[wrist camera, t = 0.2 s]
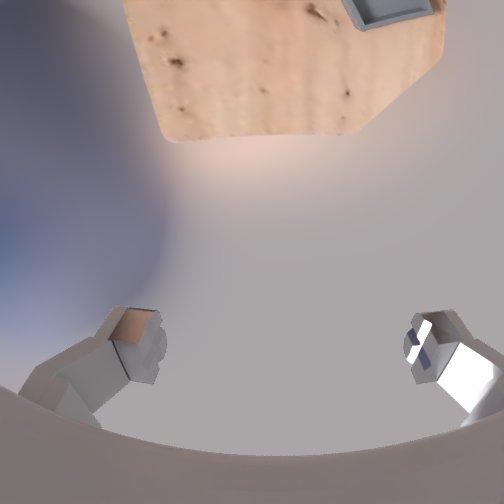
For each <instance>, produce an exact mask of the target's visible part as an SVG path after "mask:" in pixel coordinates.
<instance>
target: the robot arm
mask: <svg viewBox="0 0 504 504" xmlns="http://www.w3.org/2000/svg"><path fill="white" fill-rule="evenodd" d="M161 322H162V318H161V315H160V312H159V311H157V310H149V309H142V308H133V307H123V306H115V307H114V308H113V309H112V310H111V312H110V313H109V315H108V316H107V318H106V319H105V320H104V322H103V323H102V325H101V326H100V328H99V329H98V331H97V332H96V334H95V335H94V337H88V338H86V339H84V340H83V341H81V342H79V343H77V344H75V345H74V346H72V347H70V348H68V349H66V350H65V351H63V352H61V353H59V354H58V355H56V356H54V357H52V358H50V359H49V360H47V361H45V362H43V363H42V364H40V365H38V366H36V367H35V368H34V370H33V371H32V373H31V374H30V376H29V377H28V379H27V380H26V382H25V383H24V385H23V386H22V388H21V390H20V391H19V393H18V394H16V393H14V392H12V391H10V390H9V389H7V388H5V387H3V386H1V385H0V504H504V355H502V354H501V353H499V352H498V351H496V350H494V349H493V348H491V347H490V346H488V345H487V344H485V343H483V342H482V341H480V340H479V339H474V338H473V336H472V335H471V333H470V332H469V331H468V329H467V328H466V326H465V325H464V323H463V322H462V320H461V319H460V317H459V316H458V314H457V313H456V312H455V311H454V310H452V309H450V310H442V311H435V312H423V313H416V314H415V315H414V316H413V319H412V321H411V324H412V327H413V328H412V329H411V330H410V331H408V332H407V334H406V337H405V339H404V354H405V356H406V358H407V360H408V361H409V362H411V363H412V364H413V365H412V367H411V371H412V374H413V376H414V379H415V381H416V384H421V383H428V382H433V381H437V383H438V384H439V385H440V386H442V388H444V389H445V390H446V391H447V392H448V393H449V394H450V395H451V396H452V397H453V398H454V399H455V400H456V401H457V402H458V403H459V404H460V405H461V406H462V407H463V408H464V409H465V410H466V411H467V412H468V413H469V415H468V416H467V417H466V418H465V420H464V421H463V422H462V424H461V427H459V428H456V429H453V430H449V431H446V432H443V433H440V434H436V435H433V436H429V437H426V438H422V439H418V440H414V441H410V442H406V443H400V444H396V445H391V446H386V447H380V448H374V449H368V450H361V451H353V452H345V453H335V454H323V455H307V456H253V455H252V456H251V455H236V454H223V453H214V452H205V451H197V450H191V449H184V448H178V447H173V446H167V445H162V444H157V443H153V442H148V441H144V440H140V439H135V438H132V437H128V436H124V435H120V434H117V433H113V432H110V431H107V430H103V429H101V428H102V427H101V425H100V423H99V422H98V421H97V419H96V418H95V417H94V415H93V413H94V412H95V411H96V410H97V409H99V408H100V407H101V406H102V405H103V404H105V403H106V402H107V401H108V400H109V399H110V398H112V397H113V396H114V395H115V394H116V393H118V392H119V391H120V390H121V389H122V388H123V387H124V386H126V385H127V384H128V383H129V382H130V381H135V382H141V383H147V384H154V382H155V379H156V377H157V374H158V372H159V366H158V362H159V361H161V360H162V359H163V358H164V356H165V353H166V347H167V339H166V334H165V331H164V330H163V329H162V328H161V327H160V324H161Z"/></svg>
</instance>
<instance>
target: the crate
mask: <svg viewBox="0 0 504 504" xmlns="http://www.w3.org/2000/svg"><path fill="white" fill-rule="evenodd" d="M341 2H342V4H343V5H344V7H345V9H346V11H347V13H348V15H349V16H350V18H351V20H352V22H353V24H354V26H355V28H357V29H359V30H360V31H362V32H363V31H366V30H369V29H373V28H376V27H380V26H383V25H387V24H391V23H395V22H399V21H403V20H407V19H411V18H416V17H421V16H426V15H431V14H434V12H433V9H432V7H431V4H430V1H429V0H341Z"/></svg>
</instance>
